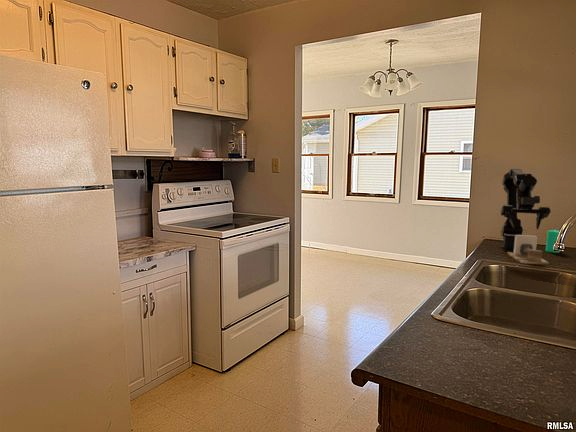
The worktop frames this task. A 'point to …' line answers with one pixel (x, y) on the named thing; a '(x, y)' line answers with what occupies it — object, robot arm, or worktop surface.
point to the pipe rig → (529, 256)
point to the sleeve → (524, 243)
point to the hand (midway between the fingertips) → (525, 228)
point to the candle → (551, 240)
